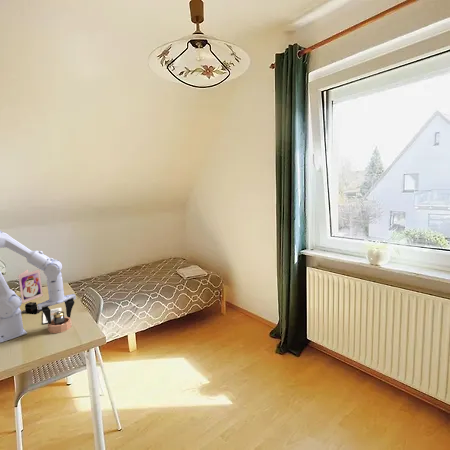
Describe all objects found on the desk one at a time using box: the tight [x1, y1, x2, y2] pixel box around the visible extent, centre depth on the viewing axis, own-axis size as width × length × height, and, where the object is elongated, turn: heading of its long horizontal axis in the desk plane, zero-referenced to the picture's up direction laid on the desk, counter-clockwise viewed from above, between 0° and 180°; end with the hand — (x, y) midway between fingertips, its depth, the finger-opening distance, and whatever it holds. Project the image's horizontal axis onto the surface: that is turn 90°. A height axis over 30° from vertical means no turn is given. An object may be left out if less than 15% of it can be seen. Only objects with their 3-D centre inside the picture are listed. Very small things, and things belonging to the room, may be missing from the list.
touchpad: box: [42, 307, 63, 324], centre depth 147 cm, size 8×15×2 cm, turn 29°
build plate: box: [21, 301, 42, 315], centre depth 153 cm, size 12×7×5 cm, turn 77°
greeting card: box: [18, 268, 44, 304], centre depth 168 cm, size 11×7×15 cm, turn 155°
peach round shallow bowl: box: [47, 316, 73, 334], centre depth 135 cm, size 9×9×3 cm
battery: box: [53, 310, 65, 325], centre depth 134 cm, size 4×4×7 cm
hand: (59, 319), depth 134 cm, fingers open, 7 cm apart
